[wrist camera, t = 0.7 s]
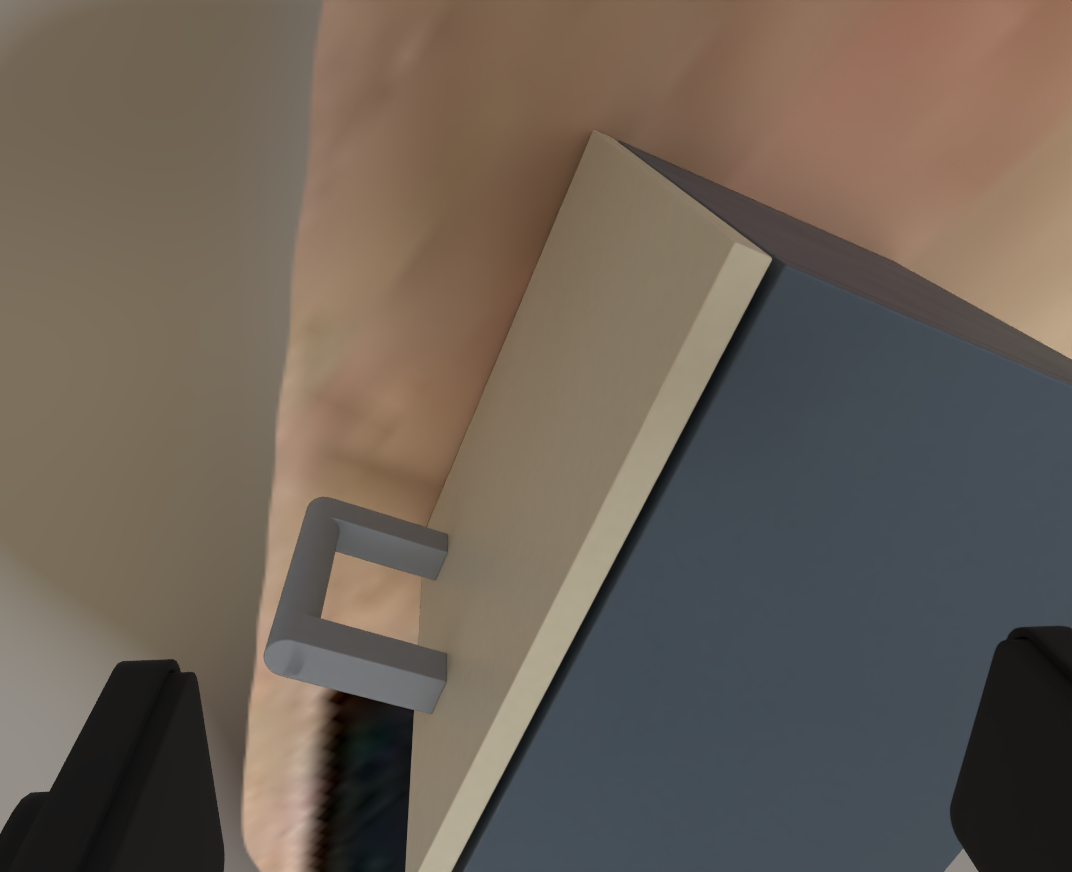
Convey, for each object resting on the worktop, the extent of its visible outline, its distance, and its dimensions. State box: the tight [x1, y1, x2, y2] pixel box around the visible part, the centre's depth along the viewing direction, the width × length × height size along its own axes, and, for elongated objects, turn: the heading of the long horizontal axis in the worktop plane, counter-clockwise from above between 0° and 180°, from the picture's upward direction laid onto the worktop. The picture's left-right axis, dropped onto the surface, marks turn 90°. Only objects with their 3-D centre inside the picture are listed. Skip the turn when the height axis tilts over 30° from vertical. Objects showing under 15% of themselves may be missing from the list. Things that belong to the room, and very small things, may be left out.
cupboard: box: [452, 141, 1072, 872], centre depth 35 cm, size 15×22×22 cm
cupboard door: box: [264, 130, 772, 872], centre depth 33 cm, size 7×22×22 cm, turn 157°
